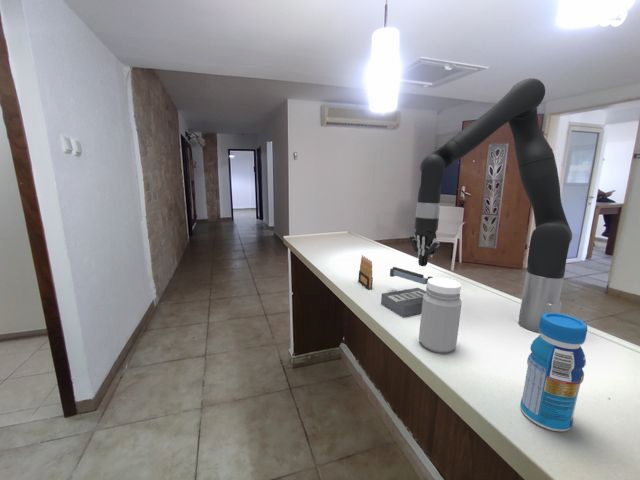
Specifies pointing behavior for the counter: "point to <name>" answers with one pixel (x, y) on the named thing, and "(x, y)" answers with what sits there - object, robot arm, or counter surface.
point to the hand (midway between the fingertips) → (422, 265)
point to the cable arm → (408, 275)
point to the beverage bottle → (554, 372)
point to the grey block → (404, 301)
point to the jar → (440, 315)
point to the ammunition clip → (366, 273)
